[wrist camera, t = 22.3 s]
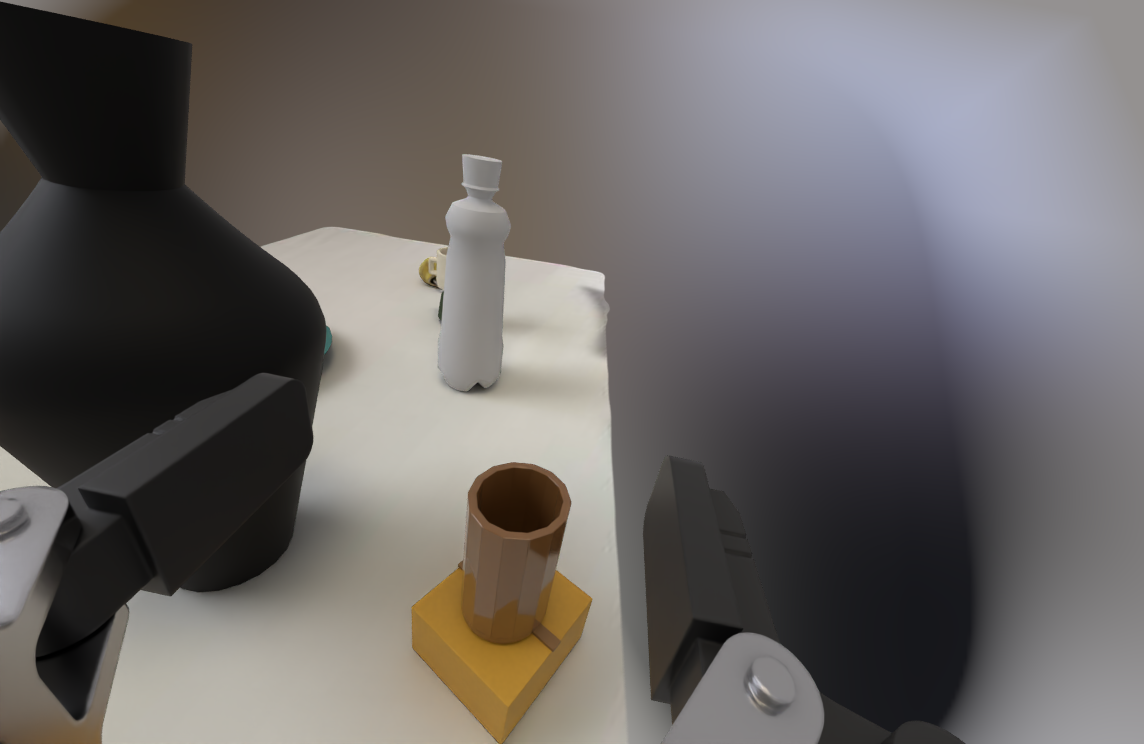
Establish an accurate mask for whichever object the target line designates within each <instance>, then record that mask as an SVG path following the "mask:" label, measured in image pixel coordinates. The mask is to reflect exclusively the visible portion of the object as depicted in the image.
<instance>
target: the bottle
mask: <svg viewBox="0 0 1144 744" xmlns="http://www.w3.org/2000/svg"><path fill="white" fill-rule="evenodd" d="M462 159H463V176H464V182H463V183H462V185H463V186H465V188H466V190H467V193H468V197H467V198H465V199H462V200H458V201H455V202H453V203H452V205H451V207H450V209H449V210H448V213H447V214H446V216H445V217H446V223H447V228H448V231H449V233H450V235H451V238H450V243H449V247H448V251H447V255H446V269H445V282H444V296H443V309H442V323H441V332H440V335H439V339H438V368H439V370H440V371H441V373H442V374H443V377H444V380H445V381H446V382H447V384H448V385H449V386H450V387H452V388H454V389H456V390H459V391H468V390H469V389H471V388H472V387H473V386H474V385H475V384H476V383H478V384H479V385H481V386H482V387H484V388H485V389H486V388H488V387H489V386H491V385H492V384H493V383H494V382H495V381H496V380H497V379H498V378H499V375H500V373H501V363H502V355H503V339H502V328H503V306H504V285H505V263H506V262H505V253H504V244H503V243H504V241H505V239H506V238H507V237H508V234H509V231H510V228H511V225H510V222H509V219H508V216H507V213H506V210H505V209H504V208H502V207H501V206H499V205H497V204H496V203H494V202H493V201H492V197H493V196H494V194H495V192H496V191H499V188H498V183H499V178H500V172H501V166H502V161H500V160H496V159H493V158H487V157H482V156H476V155H468V154H463V155H462Z"/></svg>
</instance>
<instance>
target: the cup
mask: <svg viewBox="0 0 1144 744" xmlns="http://www.w3.org/2000/svg"><path fill="white" fill-rule="evenodd" d="M570 507H571V500H570V497H569V494H568V491H567V488H566V486H565V484H564V483H563V482H562V481H561V480H560V479H559V478H558V477H557V476H555V475H554V474H553V473H552V472H550V471H548V470H546V469H543V468H541V467H539V466H537V465H533V464H526V463H516V462H511V463H507V464H502V465H498V466H493V467H491V468H490V469H488V470H487V471H485V472H484V473H482V474H481V475H479V476H478V477H477V478H476V479H475V481H474V483H473V485H472V486H471V488H470V490H469V492H468V498H467V512H466V527H465V542H464V556H463V571H462V586H461V608H462V614H463V617H464V619H465V621H466V623H467V625H468V626H469V628H470V629H471V630H472V631H473V632H474V633H475V634H476V635H478V636H479V637H481V638H482V639H484V640H487V641H490V642H493V643H500V644H506V643H513V642H517V641H519V640H522V639H524V638H526V637H527V636H529V635H530V634H532V633H533V632H534V631H535V630H536V629H537V628H538V627H539V625H540V624H541V622H542V620H543V619H544V616H545V614H546V610H547V606H548V602H549V598H550V593H551V589H552V585H553V580H554V576H555V572H556V567H557V563H558V559H559V554H560V550H561V546H562V541H563V537H564V533H565V528H566V524H567V520H568V515H569V511H570Z"/></svg>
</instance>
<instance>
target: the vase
mask: <svg viewBox="0 0 1144 744" xmlns="http://www.w3.org/2000/svg"><path fill="white" fill-rule="evenodd" d="M191 57H192V44H191V43H188V42H183V41H179V40H175V39H171V38H167V37H162V36H158V35H153V34H149V33H144V32H140V31H136V30H131V29H127V28H121V27H117V26H113V25H108V24H104V23H99V22H94V21H90V20H85V19H80V18H76V17H71V16H66V15H62V14H57V13H52V12H47V11H42V10H38V9H33V8H28V7H23V6H19V5H14V4H9V3H4V2H0V120H1V121H2V123H3V124H4V125H5V127H6V128H7V129H8V131H9V132H10V133H11V135H12V136H13V138H14V139H15V140H16V142H17V143H18V145H19V146H20V147H21V149H22V150H23V151H24V153H25V154H26V156H27V157H28V158H29V159H30V161H31V162H32V164H33V165H34V166H35V168H36V169H37V170H38V172H39V173H40V175H41V176H42V178H41V180H40V181H39V183H38V184H37V186H36V187H35V189H34V190H33V191H32V193H31V194H30V196H29V197H28V198H27V200H26V201H25V202H24V204H23V205H22V206H21V208H20V209H19V210H18V211H17V213H16V214H15V215H14V216H13V218H12V219H11V220H10V222H9V223H8V224H7V225H6V226H5V228H4V229H3V230H2V231H1V232H0V446H1V447H2V448H4V449H5V450H6V451H7V452H9V453H10V454H11V455H12V456H14V457H15V458H16V459H17V460H19V461H20V462H21V463H22V464H24V465H25V466H26V467H27V468H29V469H30V470H31V471H32V472H34V473H35V474H36V475H37V476H39V477H40V478H41V479H42V480H44V481H45V482H46V483H48V484H49V485H50V486H51V487H53V488H58V487H60V486H62V485H63V484H65V483H67V482H68V481H70V480H72V479H73V478H75V477H76V476H78V475H80V474H81V473H83V472H85V471H86V470H88V469H90V468H91V467H93V466H94V465H96V464H98V463H99V462H101V461H103V460H104V459H106V458H108V457H109V456H111V455H112V454H114V453H116V452H117V451H119V450H121V449H122V448H124V447H126V446H127V445H129V444H130V443H132V442H134V441H135V440H137V439H139V438H140V437H142V436H143V435H145V434H147V433H153V429H155V428H157V427H158V426H160V425H161V424H163V423H165V422H166V421H168V420H174V418H175V416H176V415H178V414H179V413H181V412H183V411H184V410H186V409H188V408H189V407H191V406H193V405H194V404H196V403H197V402H199V401H201V400H204V399H207V398H210V397H213V396H215V395H218V394H221V393H224V392H227V391H229V390H232V389H234V388H236V387H237V386H239V385H240V384H242V383H244V382H245V381H247V380H248V379H250V378H251V377H253V376H255V375H257V374H259V373H268V374H273V375H278V376H283V377H288V378H293V379H298V380H300V381H302V382H303V384H304V385H305V388H306V392H307V399H308V405H309V412H310V418H311V424H313V419H314V413H315V408H316V402H317V396H318V391H319V385H320V380H321V374H322V366H323V358H324V351H325V343H326V330H327V329H326V323H325V318H324V315H323V313H322V310H321V308H320V305H319V303H318V300H317V299H316V297H315V296H314V294H313V293H312V291H311V290H310V289H309V287H308V286H307V285H306V284H305V283H304V282H303V281H302V280H301V279H300V278H299V277H298V276H297V275H296V274H295V273H294V272H293V271H291V270H290V269H289V268H288V267H287V266H285V265H284V264H283V263H281V262H280V261H279V260H277V259H276V258H274V257H273V256H272V255H270V254H269V253H267V252H266V251H265V250H263V249H262V248H261V247H259V246H258V245H257V244H255V243H254V242H253V241H251V240H250V239H249V238H247V237H246V236H245V235H244V234H242V233H241V232H240V231H239V230H237V229H236V228H235V227H234V226H232V225H231V224H230V223H229V222H228V221H226V220H225V219H224V218H223V217H222V216H220V215H219V214H218V213H217V212H216V211H215V210H213V209H212V208H211V207H210V206H209V205H208V204H206V203H205V202H204V201H203V200H202V199H201V198H200V197H198V196H197V195H196V194H195V193H194V192H193V191H191V190H190V189H189V188H188V187H187V186H186V185H185V164H186V147H187V130H188V112H189V93H190V75H191ZM305 464H306V461H305V462H304V463H303V464H302V465H301V466H300V467H299V468H298V469H297V470H296V471H295V472H294V473H293V474H292V475H291V476H290V477H289V478H288V479H287V480H286V481H285V482H284V483H283V485H282V486H281V487H280V488H279V489H278V490H277V491H276V492H275V493H274V494H273V495H272V496H271V497H270V498H269V499H268V500H267V501H266V502H265V503H264V504H263V505H262V506H261V507H260V508H259V509H258V510H257V511H256V512H255V513H254V514H253V515H252V516H251V517H250V518H249V519H248V520H247V521H246V522H245V523H244V524H243V525H242V526H241V527H240V528H239V529H238V530H237V531H236V532H235V533H234V534H233V535H232V536H231V537H230V538H229V539H228V540H227V541H226V542H225V543H224V544H223V545H222V546H221V547H220V548H219V549H218V550H217V551H216V552H215V553H214V554H213V555H212V556H211V557H210V558H209V559H208V560H207V561H206V562H205V563H204V564H203V565H202V566H201V567H200V568H199V569H198V570H197V571H196V572H195V573H194V574H193V575H192V576H191V577H190V578H189V579H188V580H187V581H186V582H185V583H184V584H183V585H182V586H181V587H180V588H182V589H187V590H191V591H196V592H205V591H219V590H222V589H226V588H229V587H232V586H236V585H239V584H242V583H244V582H246V581H248V580H250V579H252V578H254V577H256V576H258V575H260V574H261V573H262V572H264V571H265V570H266V569H268V568H269V567H270V566H271V565H273V564H274V563H275V562H276V561H277V560H278V559H279V558H280V557H281V555H282V554H283V553H284V552H285V551H286V550H287V548H288V546H289V543H290V541H291V538H292V536H293V531H294V525H295V519H296V514H297V508H298V503H299V497H300V492H301V486H302V480H303V475H304V469H305Z"/></svg>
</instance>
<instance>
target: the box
mask: <svg viewBox="0 0 1144 744" xmlns="http://www.w3.org/2000/svg"><path fill="white" fill-rule="evenodd" d="M458 567H459V568H458V569H457V570H455V571H454V572H453V573H452V574H451V575H449V576H448V577H447V578H446V579H445V580H443V581H442V582H441V583H440V584H439V585H437V586H436V587H435V588H434V589H433V590H431V591H430V592H429V593H428V594H427V595H425V596H424V597H423V598H422V599H421V600H419V601H418V602H417V603H416V604H415V605H413V606H412V647H413V649H414V650H415V651H416V652H417V653H418V654H419V656H420V657H421V658H422V659H423V660H424V661H425V662H426V663H427V664H428V665H429V667H430V668H431V669H432V670H433V671H434V672H435V673H436V674H437V675H438V676H439V678H440V679H441V680H442V681H443V682H444V683H445V684H446V685H447V686H448V688H449V689H450V690H451V691H452V692H453V693H454V694H455V695H456V696H457V697H458V699H459V700H460V701H461V702H462V703H463V704H464V705H465V706H466V707H467V708H468V710H469V711H470V712H471V713H472V714H473V715H474V716H475V717H476V718H477V720H478V721H479V722H480V723H481V724H482V725H483V726H484V727H485V728H486V729H487V731H488V732H489V733H490V734H491V735H492V736H493V737H494V738H495V739H496V740H497V742H498V743H499V744H502V743H503V742H504V741H505V739H506V738H507V737H508V735H509V734H510V733H511V731H512V730H513V728H514V727H515V726H516V724H517V723H518V722H519V720H520V719H521V718H522V716H523V715H524V714H525V712H526V711H527V709H528V708H529V707H530V705H531V704H532V703H533V701H534V700H535V699H536V697H537V696H538V694H539V693H540V692H541V690H542V689H543V688H544V686H545V685H546V684H547V682H548V681H549V680H550V678H551V677H552V675H553V674H554V673H555V671H556V670H557V669H558V667H559V666H560V665H561V663H562V662H563V661H564V659H565V658H566V656H567V655H568V654H569V652H570V651H571V650H572V648H573V647H574V646H575V644H576V643H577V641H578V640H579V639H580V637H581V635H582V631H583V628H584V625H585V622H586V619H587V615H588V612H589V609H590V606H591V602H592V598H591V597H590V596H588V595H587V594H586V593H585V592H583V591H582V590H581V589H580V588H578V587H577V586H576V585H574V584H573V583H572V582H571V581H569V580H568V579H567V578H566V577H564V576H563V575H562V574H560V573H559V572H558V571H557V570H556V572H555V576H554V580H553V585H552V589H551V593H550V598H549V602H548V606H547V610H546V614H545V616H544V619H543V620H542V622H541V624H540V625H539V627H538V628H537V629H536V630H535V631H534V632H533V633H532V634H530V635H529V636H527V637H526V638H524V639H522V640H519V641H517V642H513V643H506V644H500V643H493V642H490V641H487V640H484V639H482V638H481V637H479V636H478V635H476V634H475V633H474V632H473V631H472V630H471V629H470V628H469V626H468V625H467V623H466V621H465V619H464V617H463V614H462V608H461V586H462V571H463V561H462V562H460V563H459V564H458Z"/></svg>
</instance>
